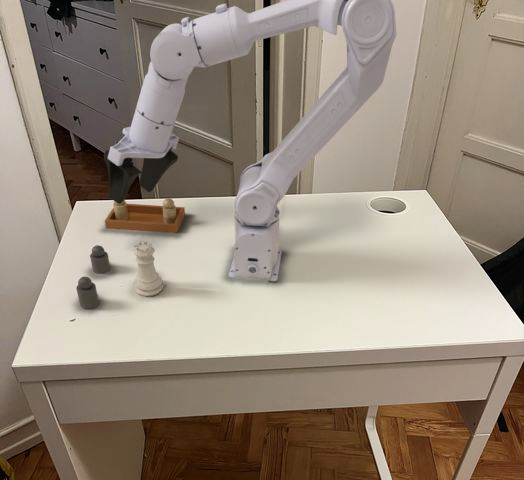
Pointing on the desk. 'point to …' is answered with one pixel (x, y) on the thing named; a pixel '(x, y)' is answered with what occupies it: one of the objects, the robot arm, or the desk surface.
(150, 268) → the rook chess piece
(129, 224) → the oak tray
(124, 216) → the ivory piece
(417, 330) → the desk surface
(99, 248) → the grey pawn
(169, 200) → the ivory piece
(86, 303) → the grey pawn
